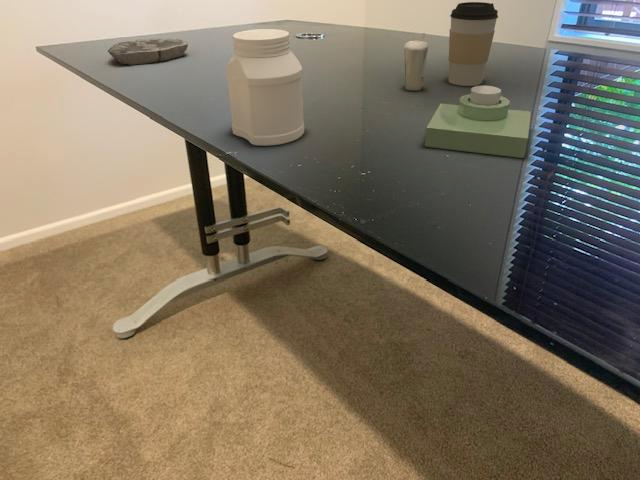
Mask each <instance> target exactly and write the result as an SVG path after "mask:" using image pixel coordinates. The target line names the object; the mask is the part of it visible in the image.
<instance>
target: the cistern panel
mask: <svg viewBox="0 0 640 480" xmlns="http://www.w3.org/2000/svg"><path fill="white" fill-rule="evenodd" d="M470 94H471V93H468V94H464V95H462V96H460V98H459V100H458V104H451V103H440V104H439V105H438V107H437V109H436V111H435V112H434V114H433V115H432V118H431V119H430V121H429V123H428V124H427V126H426V128H425V140H424V147H425V148H433V149H442V150H451V151H458V152H459V151H460V152H467V153H476V154H484V155H492V156H500V157H501V156H502V157H509V158H517V159H518V158H519V159H524V158H525V155H526V150H527V146H528V141H529V135H530V125H531V116H532V115H531V114H532V112H531V111H529V110H518V109H510V108H509V107H510V102H511V101H510V99H508V98H507V97H505V96H502V95H501V96H500V101H499V104H497V105H488V106H487V105H477V104H474V103H471V102H469V101H470Z"/></svg>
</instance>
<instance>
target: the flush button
mask: <svg viewBox="0 0 640 480" xmlns="http://www.w3.org/2000/svg"><path fill="white" fill-rule="evenodd" d="M469 94H470V101H469V102H471V103H474V104H477V105H487V106H488V105H497V104H499V101H500V96H502V89H501V88H499V87H497V86H492V85H475V86H471V88H470V93H469Z"/></svg>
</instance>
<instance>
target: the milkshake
mask: <svg viewBox="0 0 640 480" xmlns="http://www.w3.org/2000/svg"><path fill="white" fill-rule="evenodd" d="M425 35H426V32H422V35H421V38H420V39H421V40H419V39H418V40H417V39H416V40H409V41H408V42H406V43H405V44H404V45H403V46H404V47H403V48H404V89H405V90H407V91H411V92H416V91H421V90H422V88H423V82H424V76H425V69H426V64H427V63H426V62H427V58H428V52H429V46H430V45H429V44H428V43H427V42H426V41H424V39H425Z"/></svg>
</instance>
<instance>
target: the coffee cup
mask: <svg viewBox="0 0 640 480" xmlns="http://www.w3.org/2000/svg"><path fill="white" fill-rule="evenodd" d="M498 14H499V11H498V10H497V9H495V5H494V3H493V2H491V3H490V2H484V1H483V2H478V1H467V2H460V3H459V2H458V3H457V5H456V7H455V8H454V9H452V10H451V14H450V15H449V17H450V28H449V33H448V34H449V37H448V83H450V84H452V85H455V86H461V87H475V86H480V85H481V84H483V80H484V76H485V72H486V67H487V63H488V61H489V57H490V52H491V48H492V44H493V40H494V36H495V27H496V23H497V19H498V18H499V15H498Z"/></svg>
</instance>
